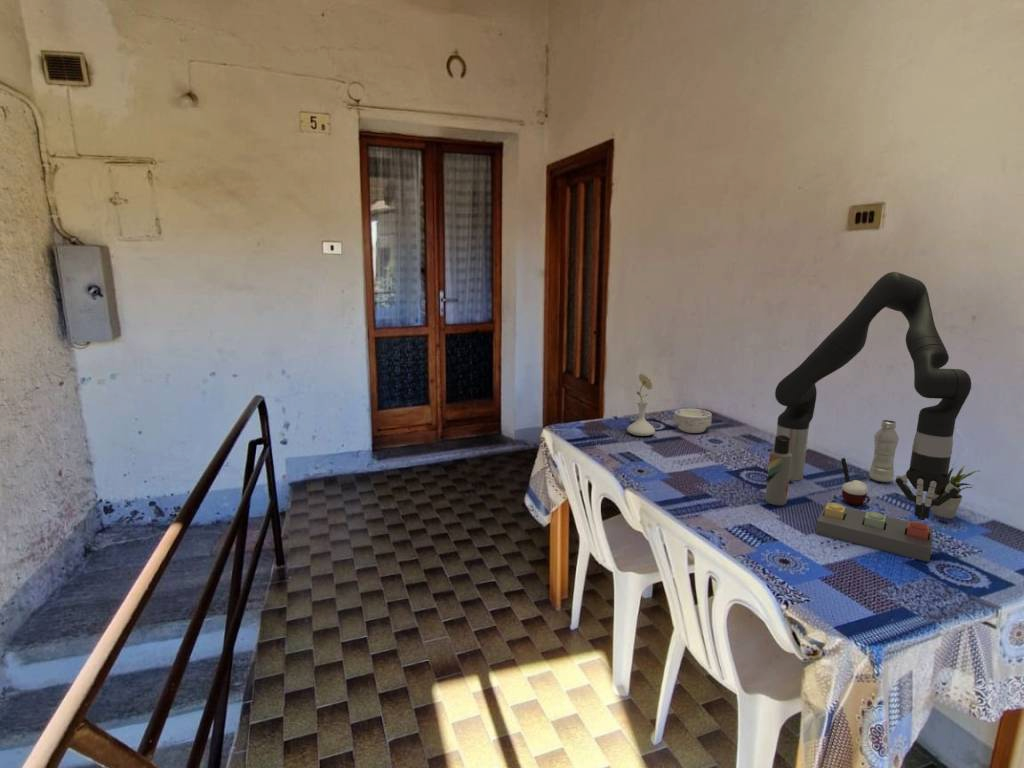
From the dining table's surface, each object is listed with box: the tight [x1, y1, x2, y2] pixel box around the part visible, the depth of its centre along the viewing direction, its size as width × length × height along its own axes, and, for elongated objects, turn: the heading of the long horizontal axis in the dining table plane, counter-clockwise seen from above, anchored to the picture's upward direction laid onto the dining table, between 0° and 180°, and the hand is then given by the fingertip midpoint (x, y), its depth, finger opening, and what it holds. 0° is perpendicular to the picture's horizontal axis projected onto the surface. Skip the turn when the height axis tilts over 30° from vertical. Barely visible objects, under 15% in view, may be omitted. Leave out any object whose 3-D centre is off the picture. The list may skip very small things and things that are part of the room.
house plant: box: [930, 462, 980, 519], centre depth 158 cm, size 14×14×16 cm
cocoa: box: [840, 457, 871, 506], centre depth 166 cm, size 10×6×12 cm, turn 2°
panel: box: [815, 502, 934, 563], centre depth 145 cm, size 24×14×4 cm, turn 53°
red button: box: [907, 520, 930, 540], centre depth 139 cm, size 4×4×4 cm
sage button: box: [864, 511, 887, 530], centre depth 145 cm, size 4×4×4 cm
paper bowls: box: [673, 408, 713, 434], centre depth 238 cm, size 15×15×8 cm
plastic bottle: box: [868, 419, 900, 483], centre depth 181 cm, size 6×7×20 cm
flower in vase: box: [626, 372, 656, 437], centre depth 231 cm, size 13×11×25 cm
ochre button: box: [824, 502, 847, 520], centre depth 150 cm, size 4×4×4 cm
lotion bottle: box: [765, 435, 792, 507], centre depth 164 cm, size 6×6×20 cm
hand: (920, 518), depth 139 cm, fingers closed
